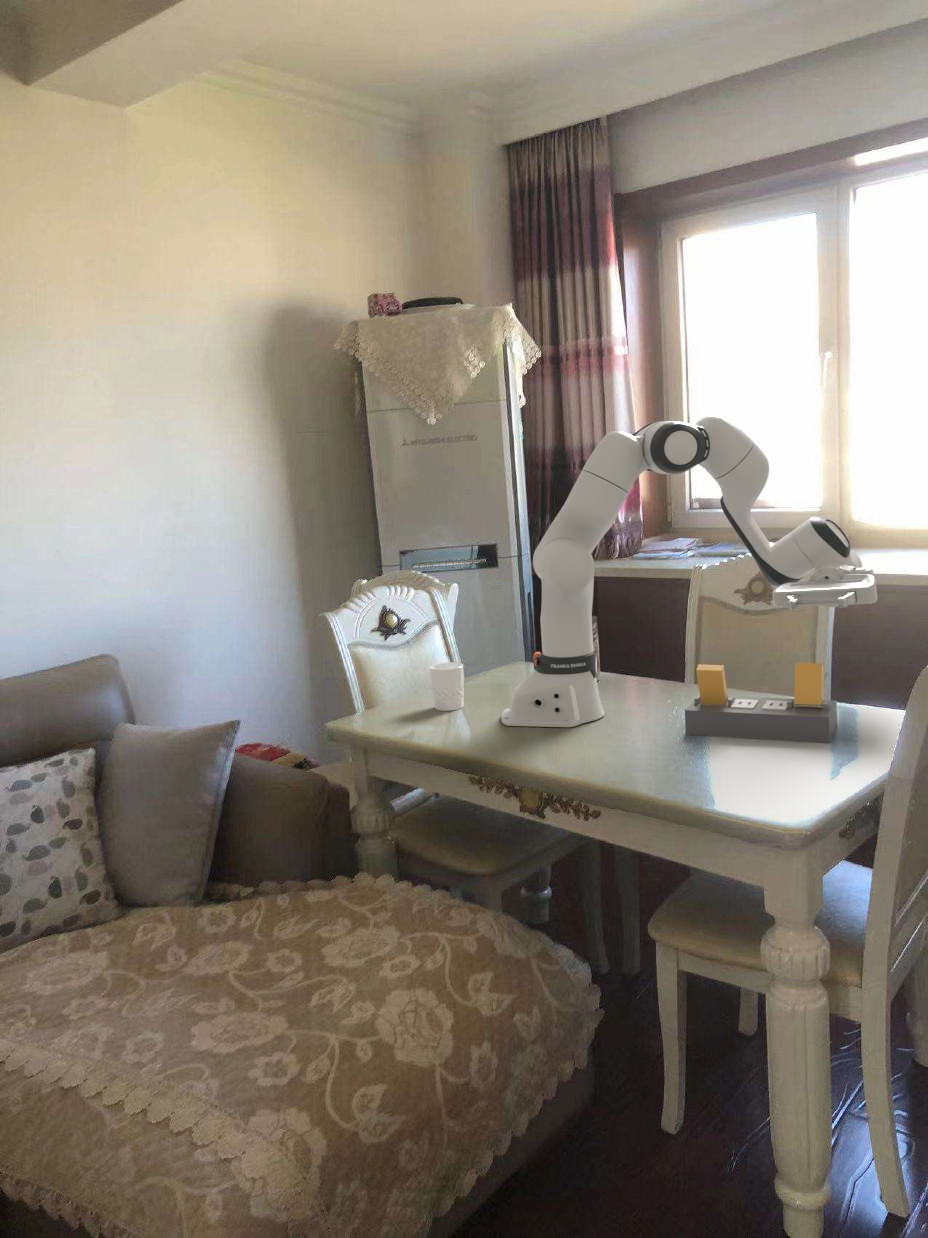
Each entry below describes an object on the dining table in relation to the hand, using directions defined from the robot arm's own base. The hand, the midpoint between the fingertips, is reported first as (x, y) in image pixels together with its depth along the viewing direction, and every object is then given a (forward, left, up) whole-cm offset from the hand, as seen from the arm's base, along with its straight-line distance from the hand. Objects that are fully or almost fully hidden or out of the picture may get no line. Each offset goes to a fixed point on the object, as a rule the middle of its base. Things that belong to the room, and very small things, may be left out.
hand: (816, 604), depth 198 cm
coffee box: (-48, +38, -23) cm, 66 cm away
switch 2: (-4, -10, -18) cm, 21 cm away
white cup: (-79, +19, -23) cm, 85 cm away
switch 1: (-21, -5, -18) cm, 28 cm away
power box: (-12, -7, -23) cm, 27 cm away
